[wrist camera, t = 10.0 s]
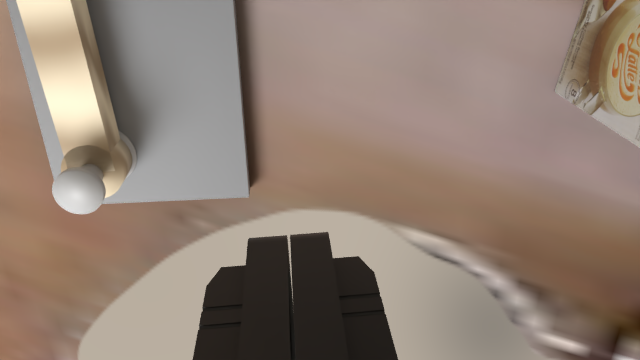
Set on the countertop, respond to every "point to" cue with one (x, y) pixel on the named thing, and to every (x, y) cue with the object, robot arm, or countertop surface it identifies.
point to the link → (76, 87)
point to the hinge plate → (158, 102)
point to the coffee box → (606, 65)
